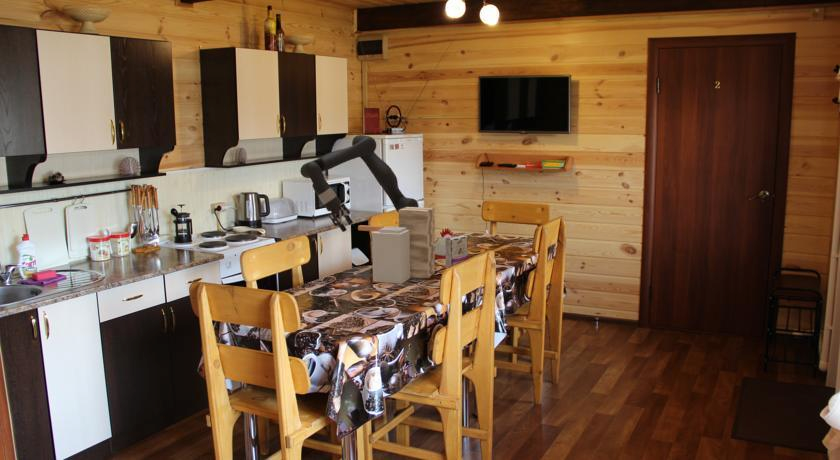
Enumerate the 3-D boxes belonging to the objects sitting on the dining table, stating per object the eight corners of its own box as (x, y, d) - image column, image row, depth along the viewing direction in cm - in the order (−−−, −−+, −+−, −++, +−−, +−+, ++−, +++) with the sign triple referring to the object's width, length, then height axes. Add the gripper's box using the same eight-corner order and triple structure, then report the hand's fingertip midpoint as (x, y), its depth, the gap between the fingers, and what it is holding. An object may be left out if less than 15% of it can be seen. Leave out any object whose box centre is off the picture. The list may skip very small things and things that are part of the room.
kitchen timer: (428, 255, 403) (428, 228, 401) (448, 252, 412) (448, 225, 409) (445, 259, 392) (445, 231, 390) (464, 256, 401) (464, 228, 398)
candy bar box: (461, 267, 374) (461, 235, 371) (468, 269, 370) (468, 236, 367) (445, 270, 367) (444, 237, 364) (451, 272, 363) (451, 239, 360)
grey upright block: (382, 276, 357) (381, 228, 353) (410, 277, 352) (409, 230, 348) (373, 281, 346) (371, 232, 342) (401, 283, 341) (400, 234, 337)
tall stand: (407, 271, 366) (406, 206, 360) (434, 273, 361) (434, 207, 356) (399, 276, 356) (398, 210, 350) (427, 278, 351) (426, 211, 345)
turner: (363, 228, 354) (363, 224, 354) (406, 230, 347) (406, 226, 347) (355, 231, 346) (355, 227, 346) (399, 233, 339) (399, 229, 338)
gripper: (329, 201, 343) (348, 230, 347) (341, 190, 356) (359, 218, 359) (317, 208, 347) (336, 236, 350) (329, 196, 359) (347, 224, 363)
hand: (348, 227), depth 355 cm, fingers open, 8 cm apart
